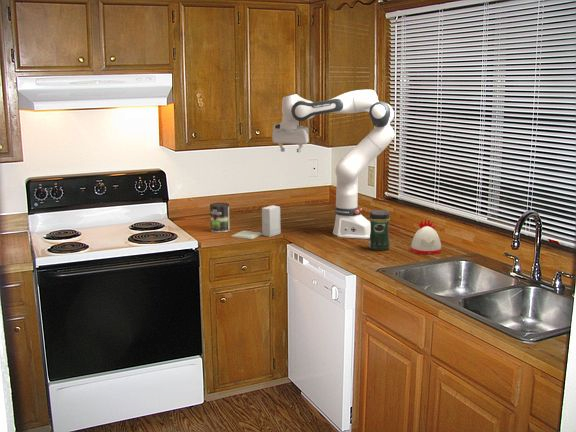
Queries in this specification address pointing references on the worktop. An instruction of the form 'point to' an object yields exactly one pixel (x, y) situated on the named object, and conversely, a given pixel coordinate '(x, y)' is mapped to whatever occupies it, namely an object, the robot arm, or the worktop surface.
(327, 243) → the worktop surface
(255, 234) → the plate
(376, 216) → the coffee jar
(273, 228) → the skincare box
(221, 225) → the coffee can
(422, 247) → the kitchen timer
